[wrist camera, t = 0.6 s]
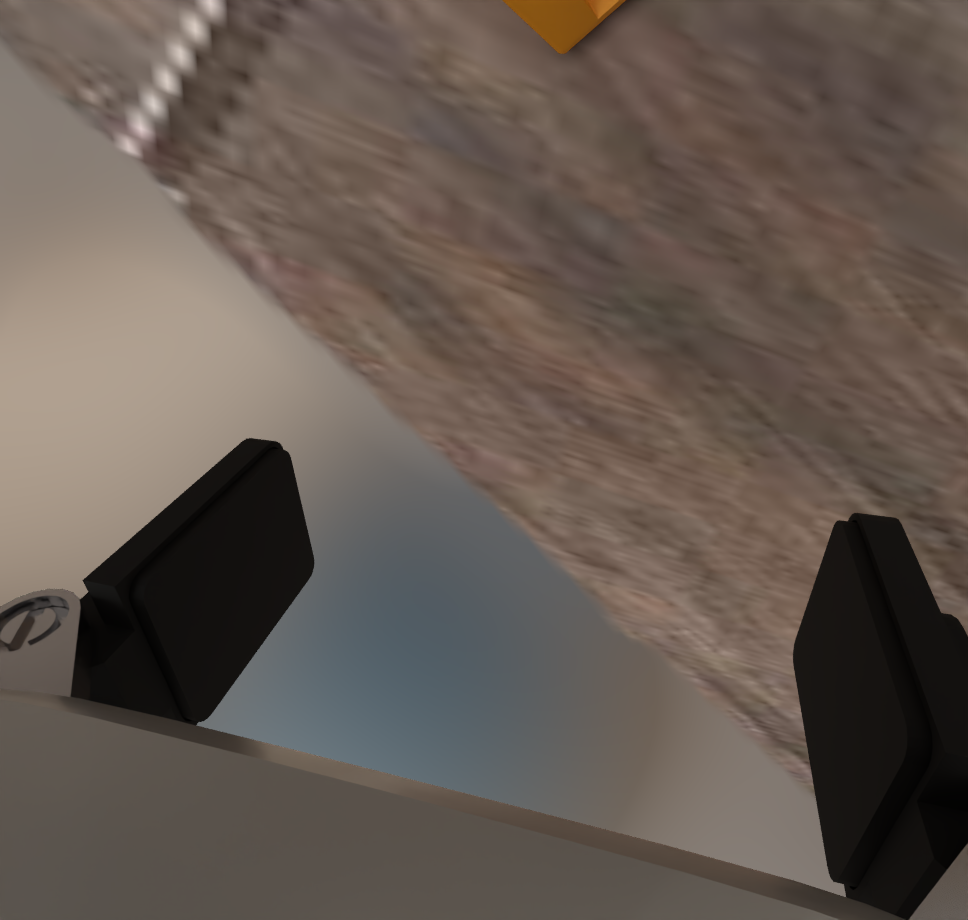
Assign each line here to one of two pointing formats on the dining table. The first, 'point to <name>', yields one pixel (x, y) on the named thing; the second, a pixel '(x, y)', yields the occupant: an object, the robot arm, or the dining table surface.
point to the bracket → (563, 18)
